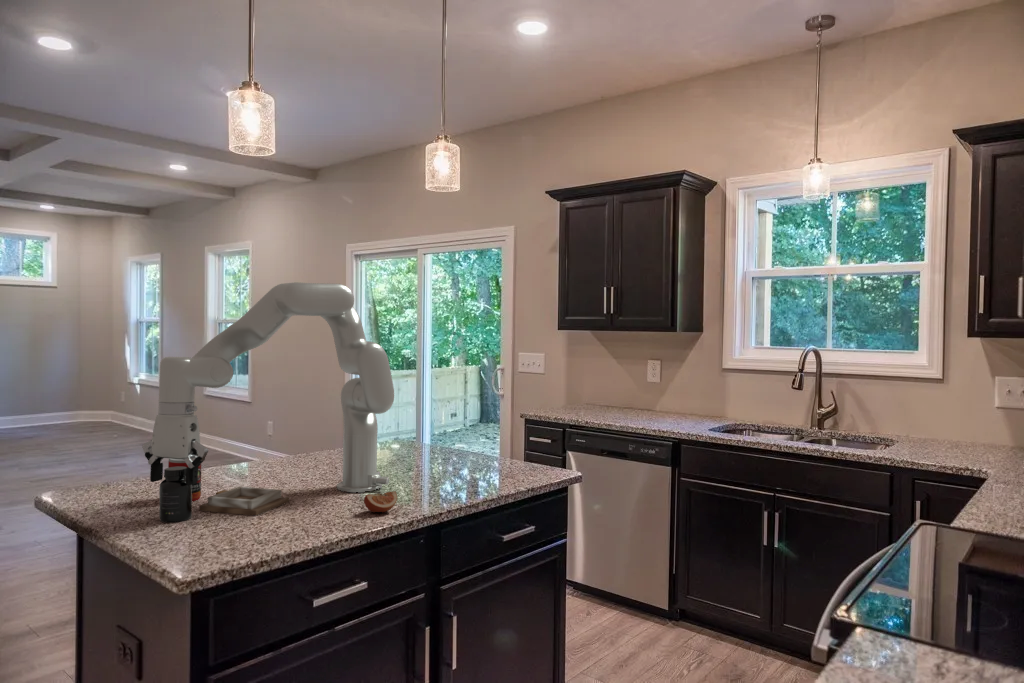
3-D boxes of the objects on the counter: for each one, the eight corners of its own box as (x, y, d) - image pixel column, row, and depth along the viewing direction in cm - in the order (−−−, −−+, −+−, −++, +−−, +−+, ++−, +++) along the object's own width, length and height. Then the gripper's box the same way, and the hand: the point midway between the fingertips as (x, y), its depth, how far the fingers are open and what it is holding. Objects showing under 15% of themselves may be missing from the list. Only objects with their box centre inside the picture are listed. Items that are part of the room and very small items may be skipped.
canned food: (188, 504, 170) (188, 461, 170) (160, 502, 172) (161, 459, 171) (207, 497, 177) (208, 456, 177) (181, 495, 179) (181, 454, 179)
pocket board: (289, 502, 174) (289, 489, 174) (256, 515, 160) (256, 502, 160) (235, 497, 178) (235, 485, 178) (199, 510, 164) (199, 497, 164)
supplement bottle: (166, 515, 159) (167, 465, 159) (196, 515, 160) (197, 465, 160) (153, 523, 153) (154, 471, 152) (184, 523, 153) (185, 471, 153)
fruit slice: (389, 507, 171) (390, 487, 171) (402, 513, 165) (403, 493, 165) (359, 512, 165) (360, 492, 165) (372, 518, 160) (372, 497, 160)
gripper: (219, 410, 158) (216, 482, 157) (157, 406, 162) (154, 476, 162) (196, 413, 150) (194, 488, 150) (133, 408, 154) (130, 482, 154)
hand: (173, 482), depth 156 cm, fingers open, 9 cm apart
